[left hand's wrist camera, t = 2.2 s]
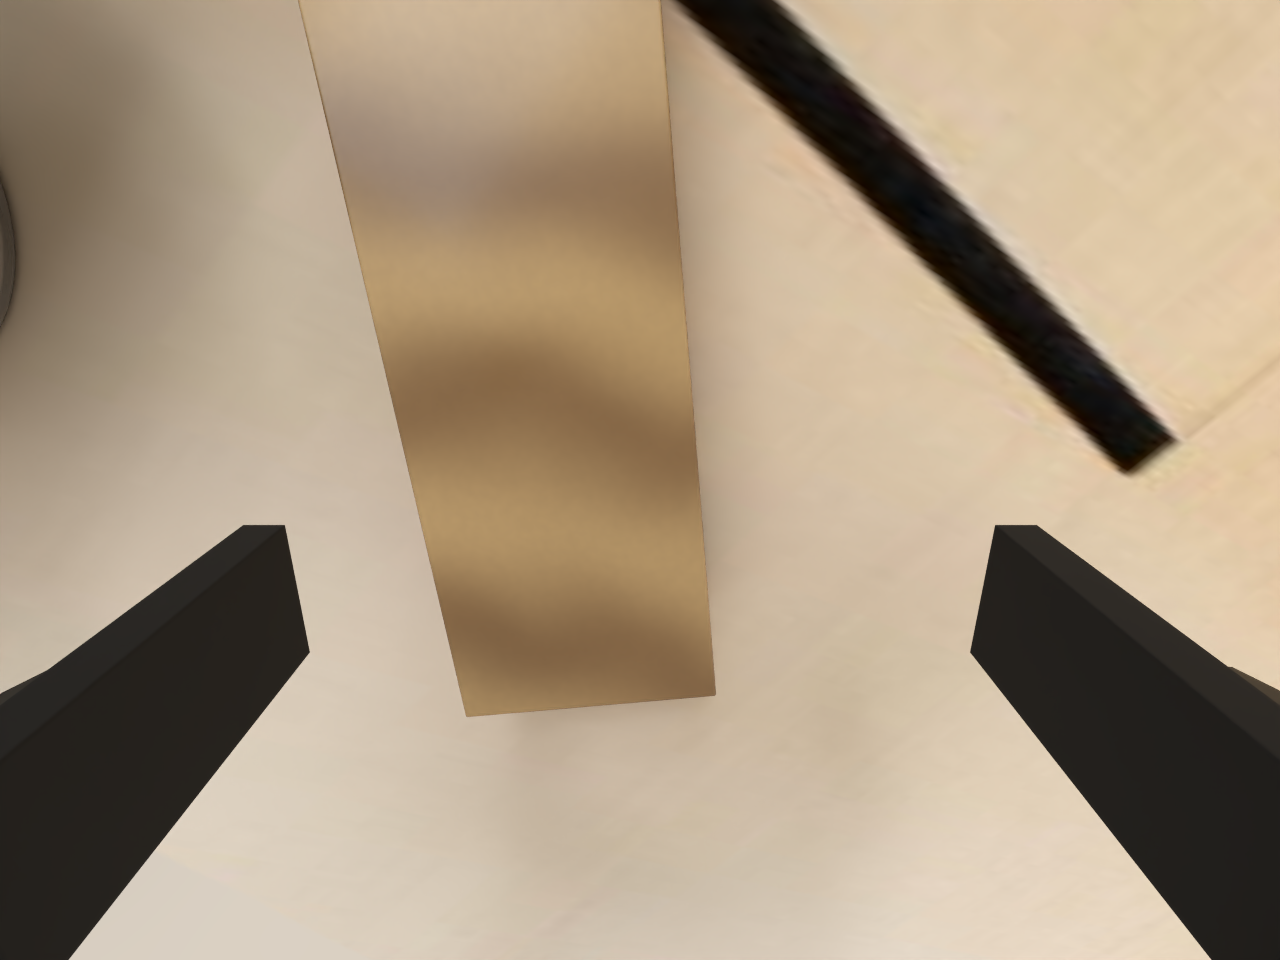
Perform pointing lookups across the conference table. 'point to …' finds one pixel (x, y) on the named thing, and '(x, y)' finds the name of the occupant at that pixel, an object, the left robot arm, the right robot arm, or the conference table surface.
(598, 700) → the beam
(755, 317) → the conference table surface
